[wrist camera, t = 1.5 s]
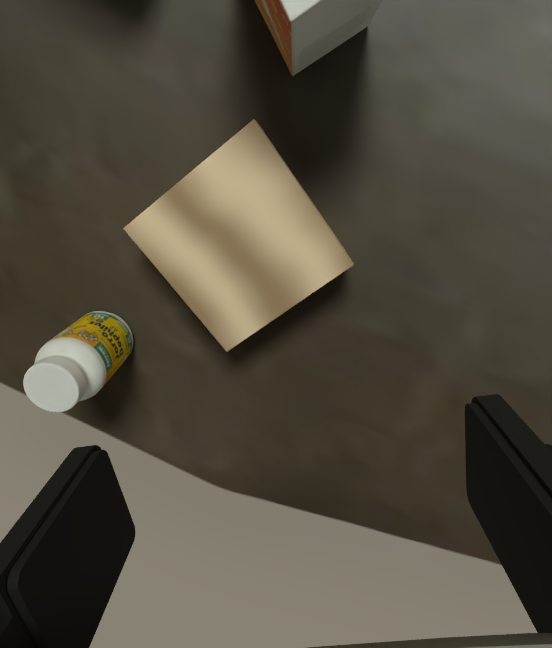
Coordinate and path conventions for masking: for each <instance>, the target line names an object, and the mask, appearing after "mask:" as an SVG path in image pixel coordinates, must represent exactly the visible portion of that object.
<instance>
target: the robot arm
mask: <svg viewBox="0 0 552 648" xmlns="http://www.w3.org/2000/svg"><path fill="white" fill-rule="evenodd" d="M465 439H466V488H467V496H468V500H469V503H470V505H471V507H472V509H473V511H474V513H475V515H476V517H477V519H478V521H479V522H480V524H481V526H482V528H483V530H484V532H485V534H486V536H487V538H488V539H489V541H490V543H491V545H492V547H493V549H494V551H495V553H496V555H497V557H498V558H499V560H500V562H501V564H502V566H503V568H504V569H505V572H506V573H507V575H508V577H509V579H510V581H511V583H512V585H513V587H514V589H515V590H516V592H517V594H518V596H519V598H520V600H521V602H522V604H523V606H524V608H525V610H526V611H527V613H528V615H529V617H530V619H531V621H532V623H533V625H534V627H535V628H536V630H537V632H538V633H526V634H507V635H488V636H470V637H450V638H436V639H421V640H407V641H393V642H379V643H365V644H351V645H337V646H322V647H310V648H552V445H549V444H544V443H543V442H542V441H541V440H540V439H539V438H538V437H537V435H536V434H535V433H534V432H533V431H532V430H531V429H530V428H529V427H528V426H527V424H526V423H525V422H524V421H523V420H522V419H521V418H520V417H519V416H518V415H517V414H516V412H515V411H514V410H513V409H512V408H511V407H510V406H509V405H508V404H507V403H506V401H505V400H504V399H503V398H502V397H501V396H500V395H498V394H495V395H487V396H479V397H474V398H473V399H472V403H471V404H466V406H465ZM134 538H135V526H134V523H133V521H132V518H131V515H130V513H129V510H128V507H127V504H126V502H125V499H124V496H123V493H122V491H121V488H120V485H119V483H118V480H117V477H116V475H115V472H114V469H113V466H112V464H111V461H110V458H109V456H108V453H107V452H106V451H105V450H101V448H100V447H99V446H97V445H94V446H86V447H78V448H74V449H73V450H72V451H71V452H70V454H69V455H68V456H67V458H66V459H65V460H64V461H63V463H62V464H61V465H60V467H59V468H58V469H57V470H56V472H55V473H54V475H53V476H52V477H51V478H50V480H49V481H48V482H47V483H46V485H45V486H44V487H43V489H42V490H41V491H40V492H39V494H38V495H37V496H36V498H35V499H34V500H33V502H32V503H31V504H30V505H29V507H28V508H27V509H26V511H25V512H24V513H23V514H22V516H21V517H20V518H19V520H18V521H17V522H16V523H15V525H14V526H13V527H12V529H11V530H10V531H9V533H8V534H7V535H6V536H5V538H4V539H3V540H2V542H1V543H0V648H89V646H90V644H91V642H92V639H93V637H94V634H95V632H96V630H97V627H98V625H99V622H100V620H101V618H102V615H103V613H104V611H105V608H106V606H107V604H108V601H109V599H110V597H111V594H112V592H113V589H114V587H115V585H116V582H117V580H118V578H119V575H120V573H121V570H122V568H123V566H124V563H125V561H126V559H127V556H128V554H129V551H130V549H131V547H132V544H133V542H134Z"/></svg>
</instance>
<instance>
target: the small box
mask: <svg viewBox="0 0 552 648" xmlns="http://www.w3.org/2000/svg"><path fill="white" fill-rule="evenodd" d="M254 1H255V3H256V5H257V7H258V9H259V11H260V12H261V14H262V16H263V18H264V20H265V22H266V24H267V26H268V28H269V30H270V32H271V34H272V36H273V38H274V40H275V42H276V44H277V46H278V48H279V50H280V53H281V55H282V57H283V59H284V61H285V63H286V65H287V67H288V69H289V71H290V73H291V75H292V76H294V75H296V74H297V73H299V72H300V71H301V70H303V69H304V68H306V67H307V66H309V65H310V64H312V63H313V62H315V61H316V60H318V59H319V58H321V57H322V56H324V55H325V54H327V53H328V52H330V51H331V50H333V49H334V48H336V47H337V46H339V45H340V44H342V43H343V42H345V41H347V40H348V39H350V38H351V37H353V36H354V35H356V34H357V33H359V32H360V31H362V30H363V29H365V28H366V27H367V26H368V25H369V23H370V21H371V19H372V18H373V16H374V14H375V12H376V10H377V9H378V7H379V5H380V3H381V1H382V0H254Z"/></svg>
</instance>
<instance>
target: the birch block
mask: <svg viewBox="0 0 552 648" xmlns="http://www.w3.org/2000/svg"><path fill="white" fill-rule="evenodd" d="M123 229H124V230H125V231H126V232H127V233H128V235H129V236H130V237H131V238H132V239H133V241H134V242H135V243H136V244H137V245H138V246H139V248H140V249H141V250H142V251H143V252H144V254H145V255H146V256H147V257H148V258H149V260H150V261H151V262H152V263H153V264H154V266H155V267H156V268H157V269H158V270H159V272H160V273H161V274H162V275H163V276H164V278H165V279H166V280H167V281H168V282H169V283H170V285H171V286H172V287H173V288H174V289H175V291H176V292H177V293H178V294H179V295H180V297H181V298H182V299H183V300H184V301H185V303H186V304H187V305H188V306H189V307H190V309H191V310H192V311H193V312H194V313H195V314H196V316H197V317H198V318H199V319H200V320H201V322H202V323H203V324H204V325H205V326H206V328H207V329H208V330H209V331H210V332H211V334H212V335H213V336H214V337H215V338H216V340H217V341H218V342H219V343H220V344H221V346H222V347H223V348H224V349H225V350H226V351H229V350H230V349H232V348H233V347H235V346H236V345H237V344H239V343H240V342H242V341H243V340H245V339H246V338H248V337H249V336H251V335H252V334H254V333H255V332H256V331H258V330H259V329H261V328H262V327H264V326H265V325H267V324H268V323H270V322H271V321H273V320H274V319H275V318H277V317H278V316H280V315H281V314H283V313H284V312H286V311H287V310H289V309H290V308H291V307H293V306H294V305H296V304H297V303H299V302H300V301H302V300H303V299H305V298H306V297H308V296H309V295H310V294H312V293H313V292H315V291H316V290H318V289H319V288H321V287H322V286H324V285H325V284H326V283H328V282H329V281H331V280H332V279H334V278H335V277H337V276H338V275H340V274H341V273H343V272H344V271H345V270H347V269H348V268H350V267H351V266H353V265H354V263H353V262H352V260H351V258H350V257H349V255H348V254H347V252H346V251H345V249H344V248H343V246H342V245H341V243H340V242H339V240H338V239H337V237H336V236H335V235H334V233H333V232H332V230H331V229H330V227H329V226H328V224H327V223H326V221H325V220H324V218H323V217H322V216H321V214H320V213H319V211H318V210H317V208H316V207H315V205H314V204H313V202H312V201H311V200H310V198H309V197H308V195H307V194H306V192H305V191H304V189H303V188H302V186H301V185H300V183H299V182H298V181H297V179H296V178H295V176H294V175H293V173H292V172H291V170H290V169H289V167H288V166H287V165H286V163H285V162H284V160H283V159H282V157H281V156H280V154H279V153H278V151H277V150H276V148H275V147H274V146H273V144H272V143H271V141H270V140H269V138H268V137H267V135H266V134H265V132H264V131H263V130H262V128H261V127H260V125H259V124H258V123H257V122H256V120H255V119H253V120H252V121H251V122H250V123H249V124H247V125H246V126H245V127H244V128H243V129H241V130H240V131H239V132H238V133H237V134H236V135H234V136H233V137H232V138H231V139H230V140H228V141H227V142H226V143H225V144H224V145H222V146H221V147H220V148H219V149H218V150H216V151H215V152H214V153H213V154H212V155H210V156H209V157H208V158H207V159H206V160H204V161H203V162H202V163H201V164H200V165H199V166H197V167H196V168H195V169H194V170H193V171H191V172H190V173H189V174H188V175H187V176H185V177H184V178H183V179H182V180H181V181H179V182H178V183H177V184H176V185H175V186H173V187H172V188H171V189H170V190H169V191H168V192H166V193H165V194H164V195H163V196H162V197H160V198H159V199H158V200H157V201H156V202H154V203H153V204H152V205H151V206H150V207H148V208H147V209H146V210H145V211H144V212H142V213H141V214H140V215H139V216H138V217H136V218H135V219H134V220H133V221H132V222H131V223H129V224H128V225H127V226H126V227H125V228H123Z"/></svg>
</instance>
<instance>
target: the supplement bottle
mask: <svg viewBox="0 0 552 648" xmlns="http://www.w3.org/2000/svg"><path fill="white" fill-rule="evenodd" d="M132 348H133V335H132V331H131V329H130V328H129V326H128V325H127V323H126V322H125V321H124V320H123V319H121V318H120V317H119V316H117V315H115V314H112V313H109V312H104V311H94V312H90V313H88V314H86V315H84V316H83V317H81V318H80V319H79V320H77V321H76V322H75V323H73V324H72V325H70V326H69V327H68V328H66V329H65V330H64V331H62V332H61V333H59V334H58V335H57V336H55V337H54V338H53V339H51V340H50V341H48V342H47V343H46V344H45V345H44V346H43V347H42V348H41V349H40V350H39V352H38V354H37V356H36V359H35V364H34V365H33V366H32V367H30V368H29V369H28V371H27V372H26V374H25V376H24V381H23V385H24V390H25V392H26V394H27V396H28V397H29V399H30V400H31V401H32V402H33V403H34V404H35V405H36V406H38V407H40V408H42V409H44V410H46V411H50V412H63V411H67V410H69V409H71V408H72V407H73V406H74V405H75V404H76V403H77V402H78V401H82V400H86V399H88V398H91V397H92V396H94V395H95V394H97V393H98V392H99V391H100V390H101V388H102V387H103V386H104V385H105V384H106V382H107V381H108V380H109V379H110V378H111V377H112V375H113V374H114V373H115V372H116V371H117V370H118V368H119V367H120V366H121V365H122V364H123V362H124V361H125V360H126V359H127V358H128V356H129V355H130V353H131V351H132Z"/></svg>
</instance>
